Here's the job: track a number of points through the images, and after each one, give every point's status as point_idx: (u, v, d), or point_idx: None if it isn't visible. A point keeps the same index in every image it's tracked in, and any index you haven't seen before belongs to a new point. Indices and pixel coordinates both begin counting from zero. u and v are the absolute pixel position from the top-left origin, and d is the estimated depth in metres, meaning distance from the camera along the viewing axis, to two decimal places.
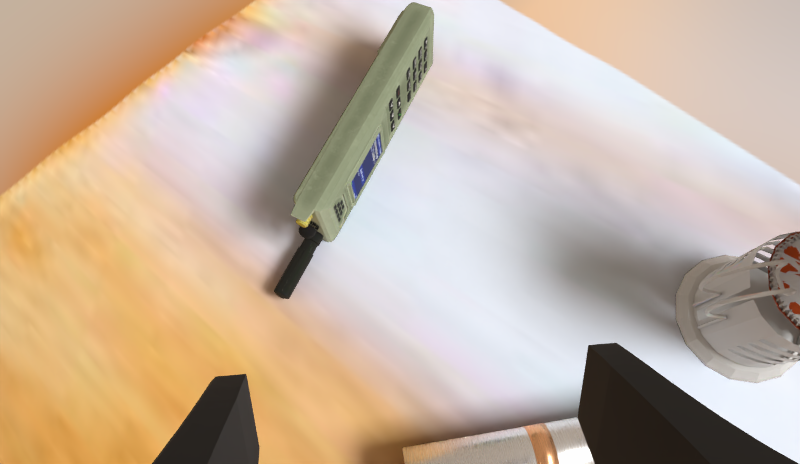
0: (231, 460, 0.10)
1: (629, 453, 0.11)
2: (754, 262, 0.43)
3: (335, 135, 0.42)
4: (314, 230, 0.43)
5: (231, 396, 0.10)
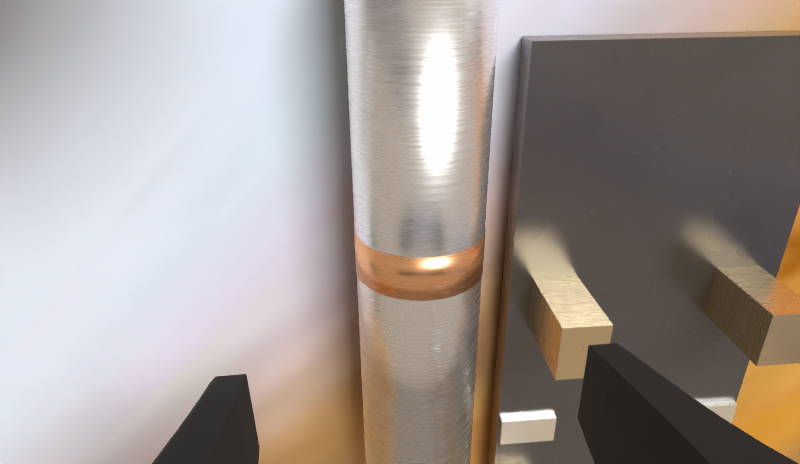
0: (231, 460, 0.10)
1: (629, 453, 0.11)
2: None
3: None
4: None
5: (231, 396, 0.10)
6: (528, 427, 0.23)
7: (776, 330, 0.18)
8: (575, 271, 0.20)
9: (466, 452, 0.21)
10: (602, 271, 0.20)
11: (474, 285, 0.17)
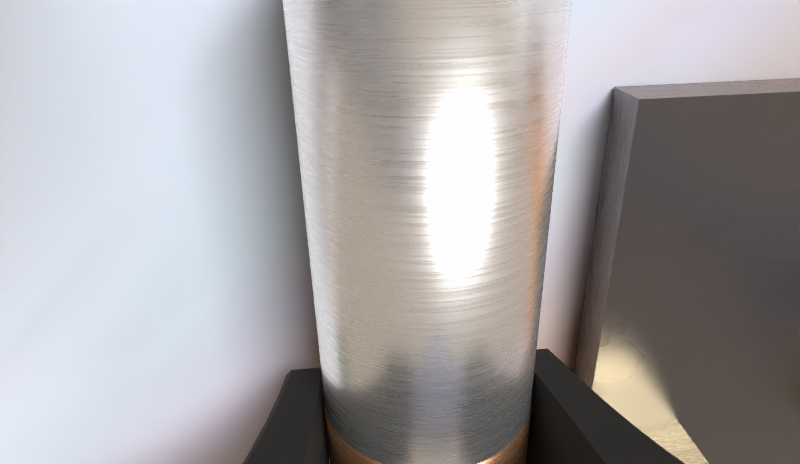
0: (317, 452, 0.10)
1: (551, 461, 0.11)
2: None
3: None
4: None
5: (313, 389, 0.11)
6: None
7: None
8: (678, 419, 0.14)
9: None
10: (717, 417, 0.14)
11: None
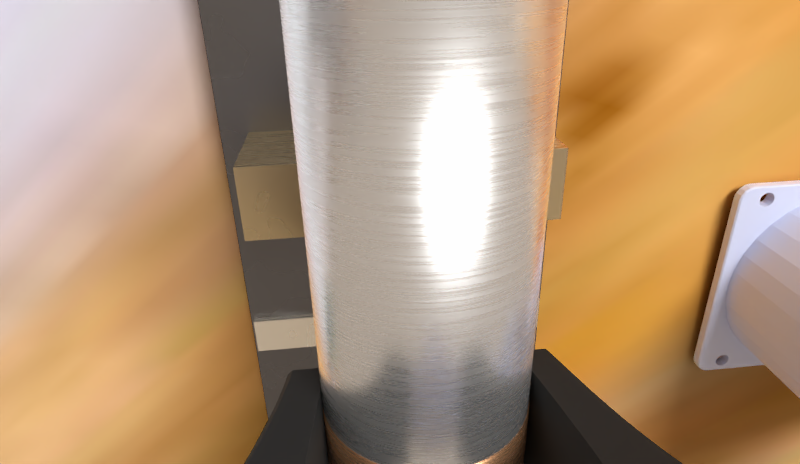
0: (318, 451, 0.10)
1: (549, 461, 0.11)
2: None
3: None
4: None
5: (314, 389, 0.11)
6: (288, 329, 0.20)
7: None
8: None
9: None
10: None
11: None
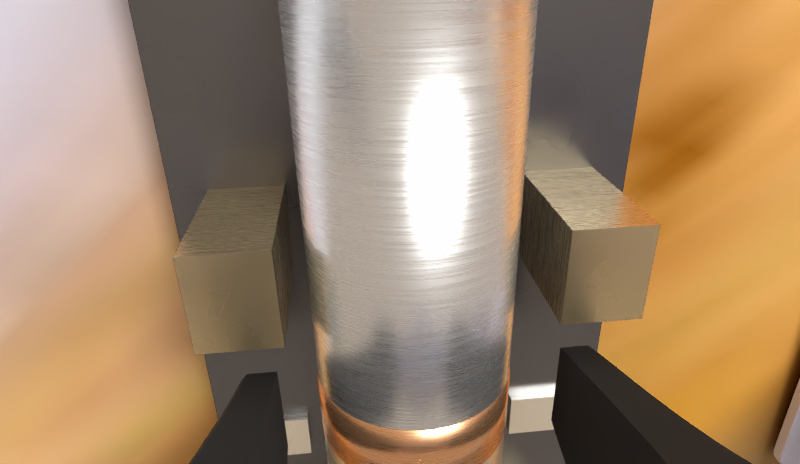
0: (266, 457, 0.10)
1: (597, 457, 0.11)
2: None
3: None
4: None
5: (265, 393, 0.11)
6: None
7: (584, 259, 0.10)
8: (279, 177, 0.12)
9: None
10: None
11: None
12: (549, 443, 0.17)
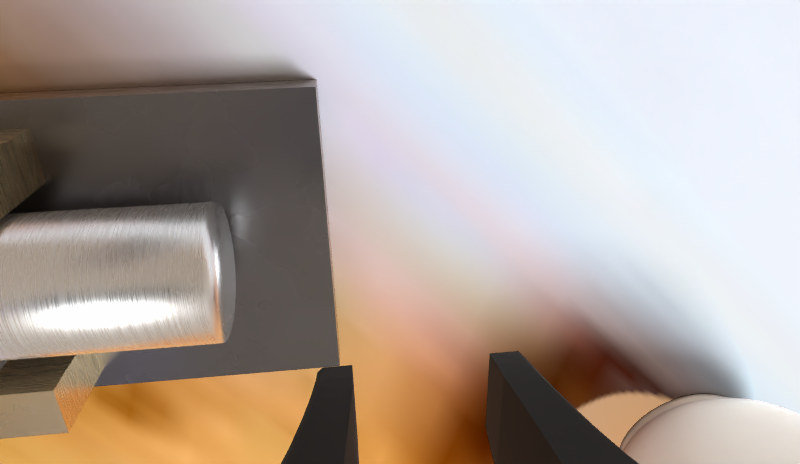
0: (352, 448, 0.10)
1: None
2: None
3: None
4: None
5: (346, 386, 0.11)
6: None
7: (33, 400, 0.17)
8: (51, 178, 0.17)
9: None
10: (59, 209, 0.17)
11: None
12: None
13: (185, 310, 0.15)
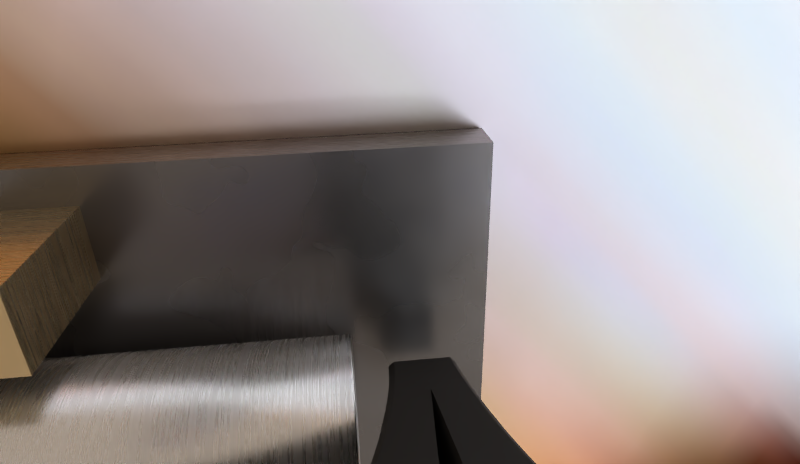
0: None
1: None
2: None
3: None
4: None
5: (423, 379, 0.11)
6: None
7: None
8: (109, 273, 0.12)
9: None
10: (118, 314, 0.12)
11: None
12: None
13: None
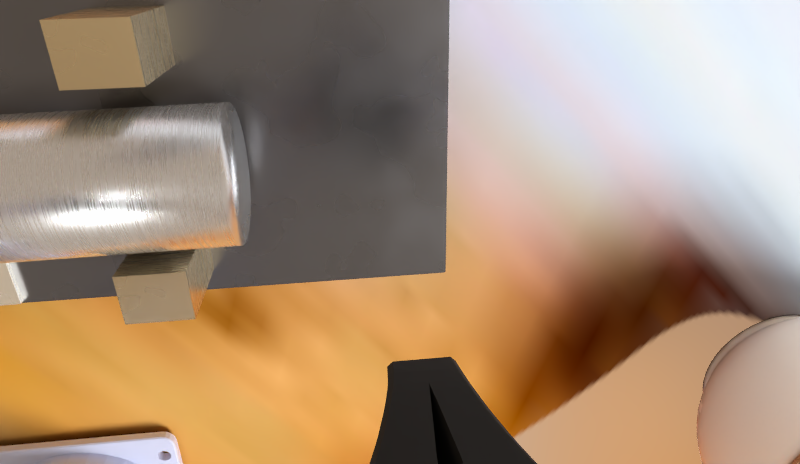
0: None
1: None
2: None
3: None
4: None
5: (422, 379, 0.11)
6: None
7: (165, 282, 0.16)
8: (181, 60, 0.17)
9: None
10: (185, 95, 0.17)
11: None
12: None
13: (206, 218, 0.15)
